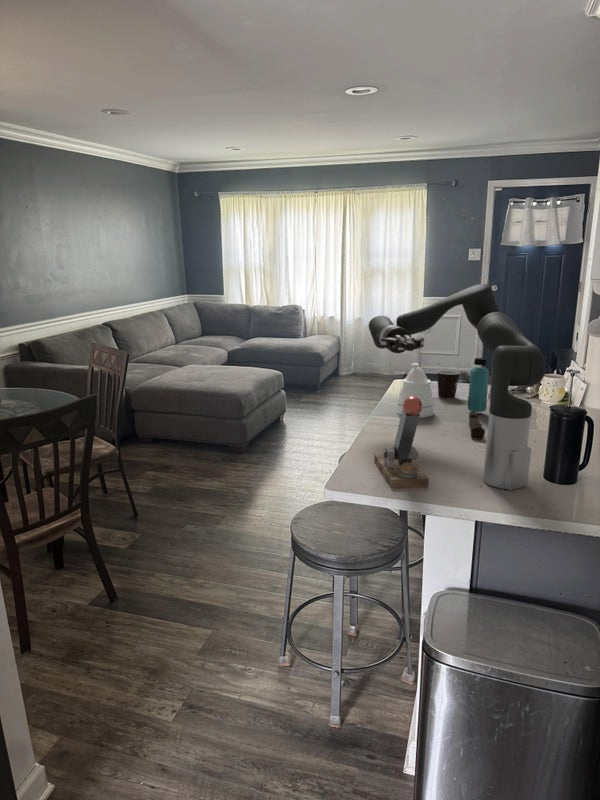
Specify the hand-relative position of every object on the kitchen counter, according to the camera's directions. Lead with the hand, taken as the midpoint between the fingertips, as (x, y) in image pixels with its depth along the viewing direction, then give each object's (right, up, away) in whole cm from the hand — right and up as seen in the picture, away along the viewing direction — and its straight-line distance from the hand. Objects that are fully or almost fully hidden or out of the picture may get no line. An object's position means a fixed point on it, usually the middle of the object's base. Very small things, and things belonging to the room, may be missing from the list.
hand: (411, 347), depth 144 cm
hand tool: (+26, -24, +30) cm, 46 cm away
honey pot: (+12, -19, +50) cm, 55 cm away
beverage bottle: (+33, -19, +49) cm, 62 cm away
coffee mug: (+28, -13, +73) cm, 79 cm away
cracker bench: (-4, -32, -7) cm, 34 cm away
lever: (-4, -29, -8) cm, 31 cm away
